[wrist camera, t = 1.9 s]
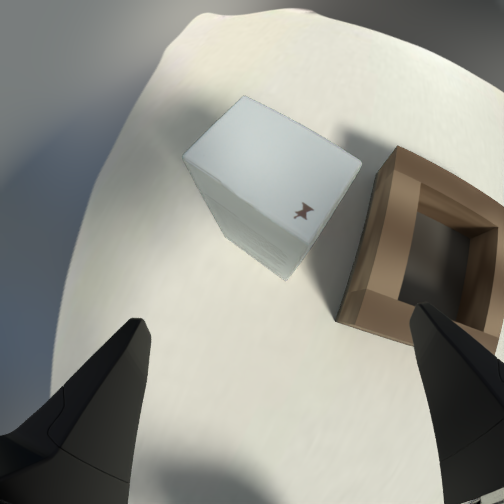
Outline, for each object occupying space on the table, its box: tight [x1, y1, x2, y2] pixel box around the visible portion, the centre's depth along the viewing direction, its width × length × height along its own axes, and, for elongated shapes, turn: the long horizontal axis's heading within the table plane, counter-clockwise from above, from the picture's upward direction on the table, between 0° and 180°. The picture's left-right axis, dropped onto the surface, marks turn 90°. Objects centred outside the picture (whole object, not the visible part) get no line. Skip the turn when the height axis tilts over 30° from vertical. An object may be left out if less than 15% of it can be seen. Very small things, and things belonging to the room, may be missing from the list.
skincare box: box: [182, 96, 362, 281], centre depth 16 cm, size 6×4×12 cm
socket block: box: [335, 146, 504, 355], centre depth 18 cm, size 13×13×5 cm
